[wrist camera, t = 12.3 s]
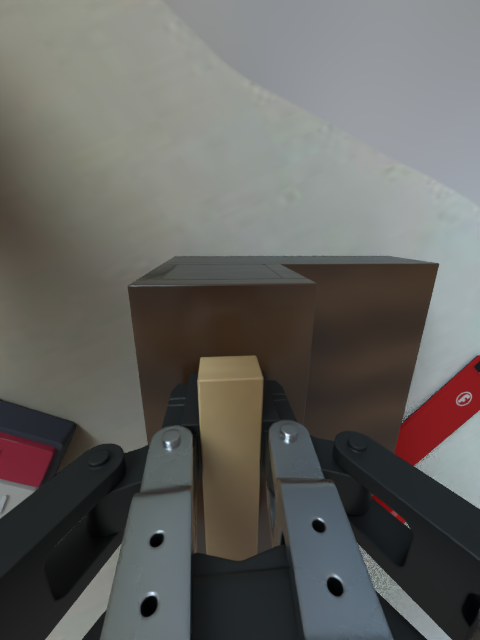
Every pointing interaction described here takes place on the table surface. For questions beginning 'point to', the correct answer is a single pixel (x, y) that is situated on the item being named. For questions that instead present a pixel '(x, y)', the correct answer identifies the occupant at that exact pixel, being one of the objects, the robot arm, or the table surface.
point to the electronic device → (440, 415)
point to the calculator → (28, 451)
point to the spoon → (230, 453)
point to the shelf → (288, 338)
